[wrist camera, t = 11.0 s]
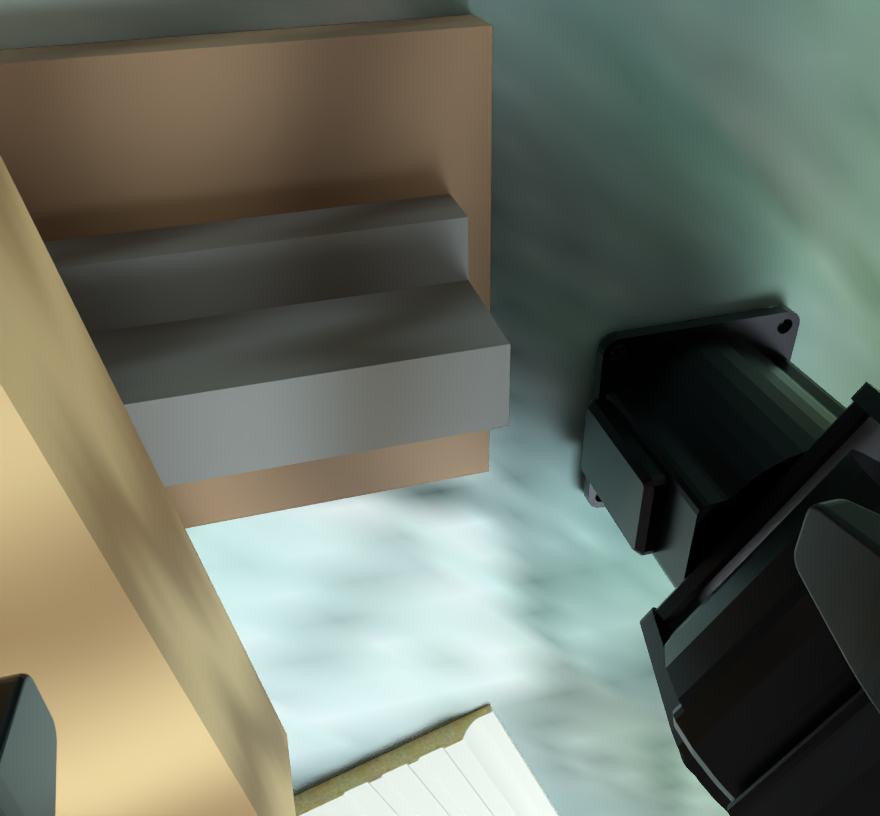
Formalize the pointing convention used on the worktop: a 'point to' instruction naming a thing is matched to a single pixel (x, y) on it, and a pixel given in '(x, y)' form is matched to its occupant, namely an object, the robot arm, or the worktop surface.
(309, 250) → the ridge stand
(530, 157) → the worktop surface
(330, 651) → the worktop surface
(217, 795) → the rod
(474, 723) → the baseboard molding
